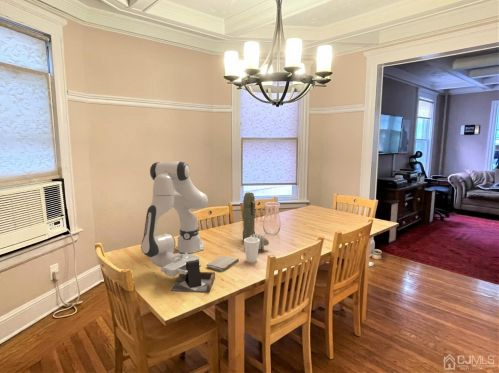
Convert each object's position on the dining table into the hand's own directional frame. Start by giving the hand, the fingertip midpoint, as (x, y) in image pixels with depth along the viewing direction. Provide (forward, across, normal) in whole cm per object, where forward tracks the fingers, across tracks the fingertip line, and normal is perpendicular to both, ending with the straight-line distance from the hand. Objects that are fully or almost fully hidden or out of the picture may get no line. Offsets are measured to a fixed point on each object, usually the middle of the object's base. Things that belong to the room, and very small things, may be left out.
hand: (193, 269), depth 159 cm
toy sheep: (-1, +60, +9) cm, 60 cm away
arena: (-1, +1, +9) cm, 9 cm away
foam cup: (+6, +44, +9) cm, 45 cm away
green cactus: (-14, +71, +9) cm, 73 cm away
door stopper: (-1, +1, +8) cm, 8 cm away
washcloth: (-4, +29, +10) cm, 31 cm away
